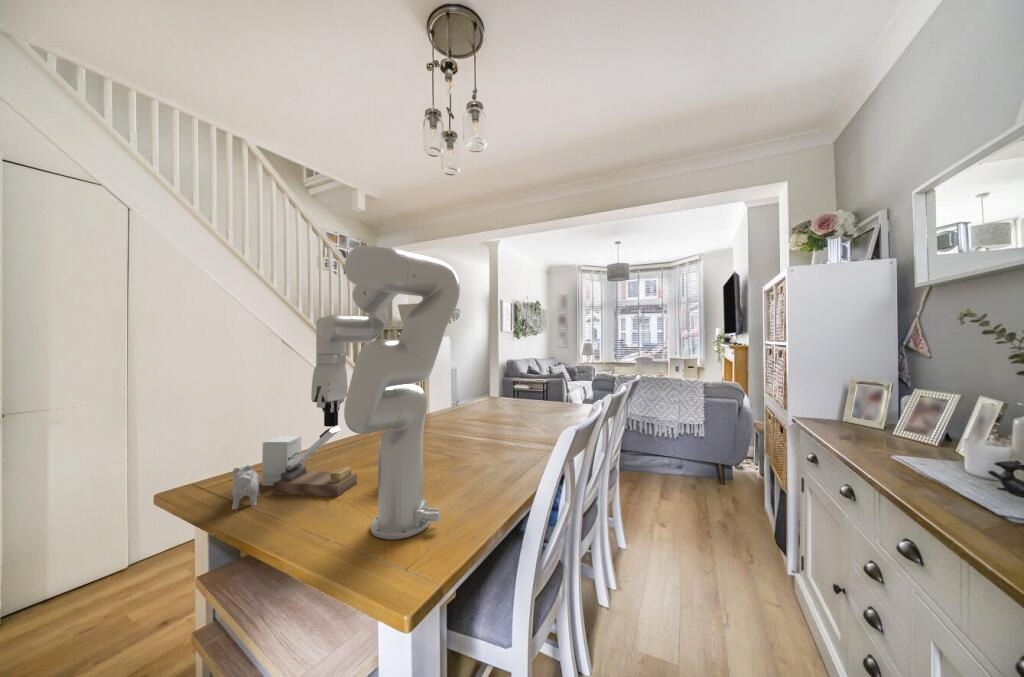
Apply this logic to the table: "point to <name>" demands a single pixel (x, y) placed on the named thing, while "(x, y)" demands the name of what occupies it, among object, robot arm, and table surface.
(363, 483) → the table surface
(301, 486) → the mount block
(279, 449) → the supplement box
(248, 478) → the dog figurine
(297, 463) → the grey flat bar
